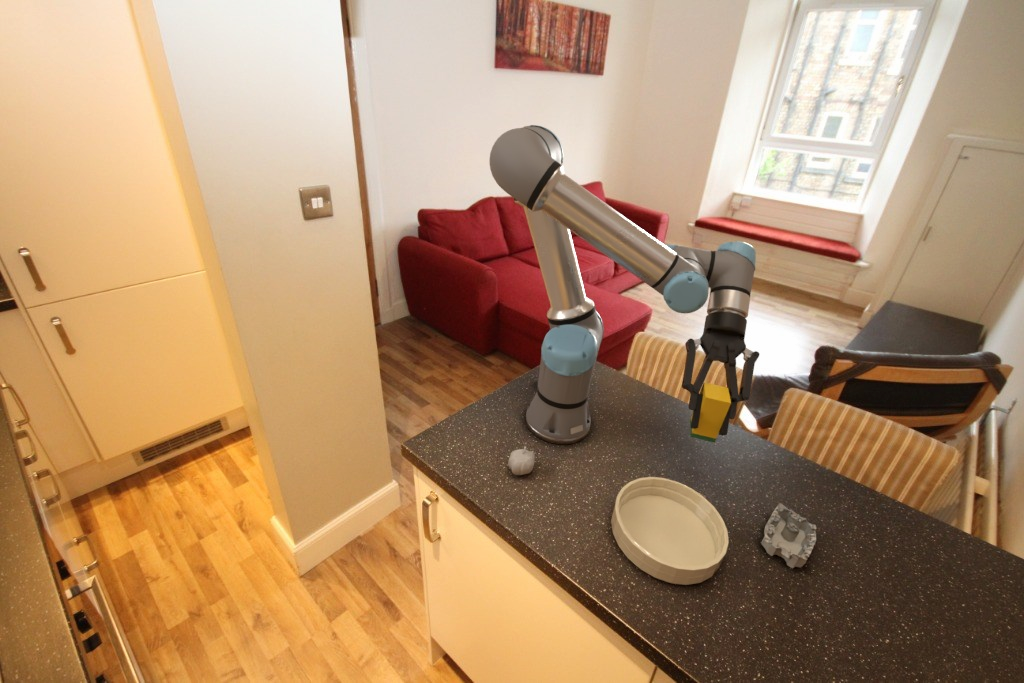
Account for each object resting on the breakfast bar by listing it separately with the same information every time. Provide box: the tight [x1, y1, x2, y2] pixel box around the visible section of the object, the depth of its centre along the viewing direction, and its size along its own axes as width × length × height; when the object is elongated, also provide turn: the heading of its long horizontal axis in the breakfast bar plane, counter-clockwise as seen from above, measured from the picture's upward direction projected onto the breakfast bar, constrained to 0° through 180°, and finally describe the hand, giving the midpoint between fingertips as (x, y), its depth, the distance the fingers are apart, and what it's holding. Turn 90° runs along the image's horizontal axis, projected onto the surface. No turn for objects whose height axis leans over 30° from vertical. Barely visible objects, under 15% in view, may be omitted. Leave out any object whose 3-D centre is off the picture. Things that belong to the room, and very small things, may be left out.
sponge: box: [689, 381, 731, 443], centre depth 87 cm, size 5×4×10 cm
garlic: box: [507, 445, 536, 476], centre depth 91 cm, size 6×5×5 cm
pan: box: [610, 476, 730, 586], centre depth 80 cm, size 19×19×4 cm
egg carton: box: [760, 502, 817, 569], centre depth 80 cm, size 11×8×4 cm
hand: (708, 431), depth 85 cm, fingers closed on sponge, 4 cm apart
